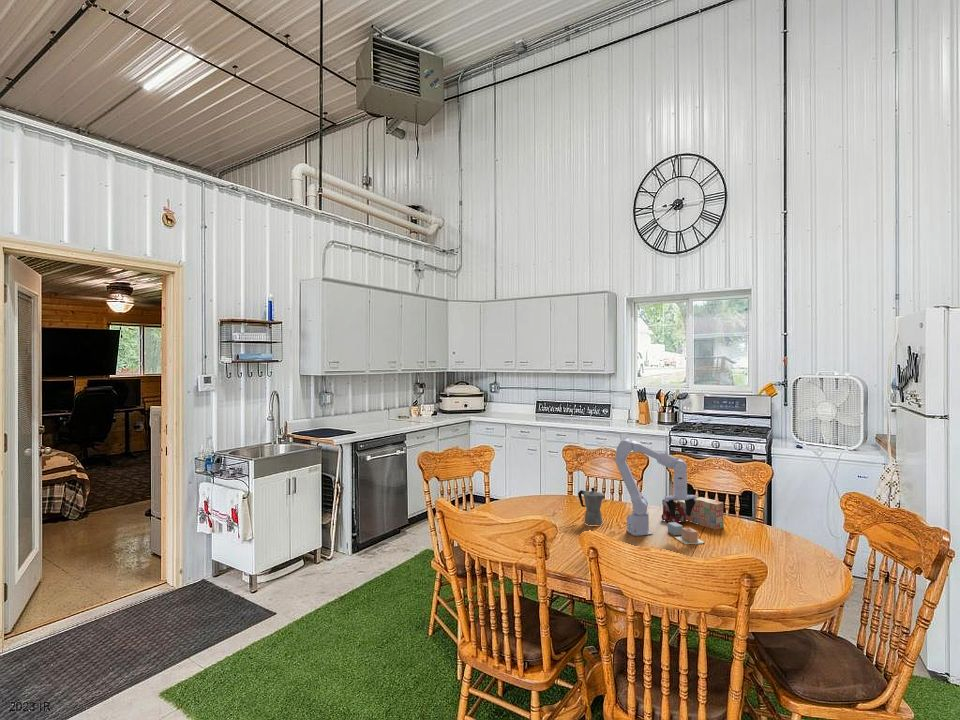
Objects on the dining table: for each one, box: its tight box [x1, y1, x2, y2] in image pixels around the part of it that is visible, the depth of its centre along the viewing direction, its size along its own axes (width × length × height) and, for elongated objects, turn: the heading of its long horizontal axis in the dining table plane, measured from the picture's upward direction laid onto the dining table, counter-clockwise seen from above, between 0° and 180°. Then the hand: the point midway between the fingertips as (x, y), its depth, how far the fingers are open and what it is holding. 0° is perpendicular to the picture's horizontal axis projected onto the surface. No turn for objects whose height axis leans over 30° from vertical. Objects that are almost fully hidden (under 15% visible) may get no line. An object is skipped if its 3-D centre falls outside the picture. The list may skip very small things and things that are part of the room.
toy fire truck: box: [661, 498, 687, 524], centre depth 252 cm, size 7×12×10 cm, turn 34°
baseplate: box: [674, 536, 706, 546], centre depth 224 cm, size 9×9×1 cm
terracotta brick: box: [681, 527, 699, 542], centre depth 224 cm, size 4×6×4 cm, turn 10°
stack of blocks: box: [677, 496, 725, 531], centre depth 250 cm, size 21×6×12 cm, turn 32°
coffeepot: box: [577, 487, 606, 525], centre depth 251 cm, size 15×9×18 cm, turn 44°
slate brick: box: [667, 521, 684, 536], centre depth 235 cm, size 4×6×4 cm, turn 12°
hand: (680, 516), depth 230 cm, fingers open, 7 cm apart
